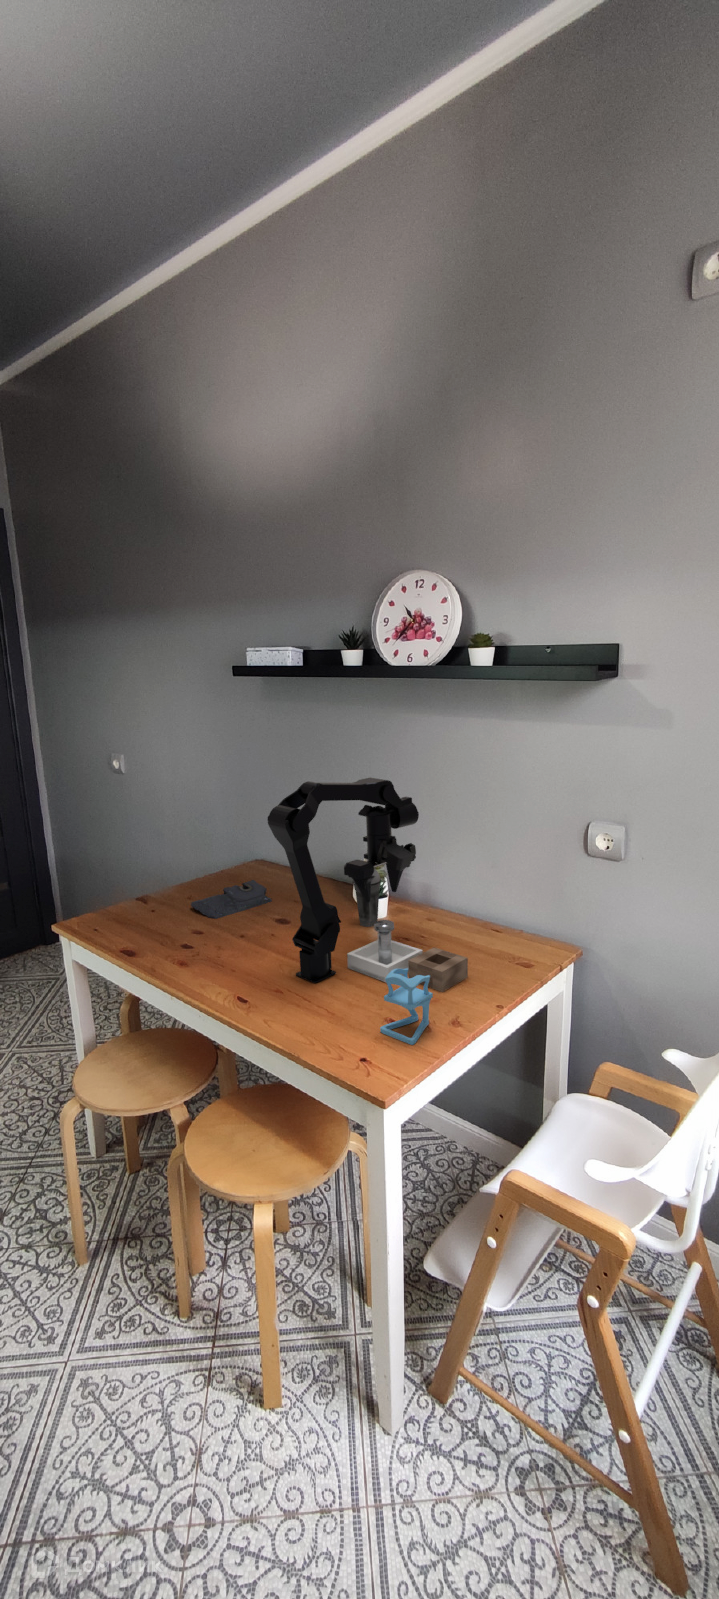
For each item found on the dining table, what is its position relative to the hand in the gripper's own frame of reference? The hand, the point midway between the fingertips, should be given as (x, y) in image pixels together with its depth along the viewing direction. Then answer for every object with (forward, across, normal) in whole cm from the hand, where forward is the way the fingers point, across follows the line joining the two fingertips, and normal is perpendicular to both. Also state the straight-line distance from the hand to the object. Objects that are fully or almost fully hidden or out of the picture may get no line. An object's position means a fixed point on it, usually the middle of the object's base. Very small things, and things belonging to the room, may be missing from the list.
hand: (381, 896), depth 172 cm
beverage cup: (+13, +10, +14) cm, 22 cm away
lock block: (+13, -4, -20) cm, 24 cm away
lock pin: (+12, -7, -7) cm, 16 cm away
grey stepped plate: (+14, -3, +56) cm, 58 cm away
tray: (+13, -7, -7) cm, 16 cm away
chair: (+13, -25, -29) cm, 40 cm away
